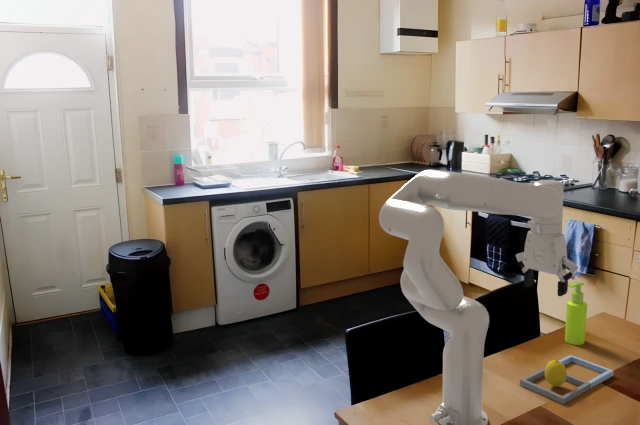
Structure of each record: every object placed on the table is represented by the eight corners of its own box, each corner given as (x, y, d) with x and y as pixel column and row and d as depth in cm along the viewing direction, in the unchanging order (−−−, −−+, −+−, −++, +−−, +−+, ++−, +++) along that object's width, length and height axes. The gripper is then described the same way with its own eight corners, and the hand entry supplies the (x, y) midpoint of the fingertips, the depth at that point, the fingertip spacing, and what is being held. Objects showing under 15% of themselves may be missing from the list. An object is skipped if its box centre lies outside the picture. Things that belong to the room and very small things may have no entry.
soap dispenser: (558, 340, 182) (561, 281, 179) (573, 336, 185) (577, 278, 181) (573, 346, 177) (577, 287, 173) (588, 342, 180) (592, 283, 176)
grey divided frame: (563, 404, 144) (563, 398, 144) (519, 384, 154) (520, 379, 154) (612, 375, 158) (613, 370, 158) (569, 359, 169) (570, 354, 168)
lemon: (567, 392, 150) (569, 365, 148) (545, 391, 151) (547, 363, 149) (563, 382, 155) (564, 356, 154) (542, 381, 156) (543, 354, 155)
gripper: (508, 225, 149) (508, 286, 153) (570, 236, 135) (568, 302, 139) (525, 220, 153) (524, 279, 157) (586, 230, 139) (584, 294, 143)
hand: (545, 290), depth 148 cm, fingers open, 9 cm apart
